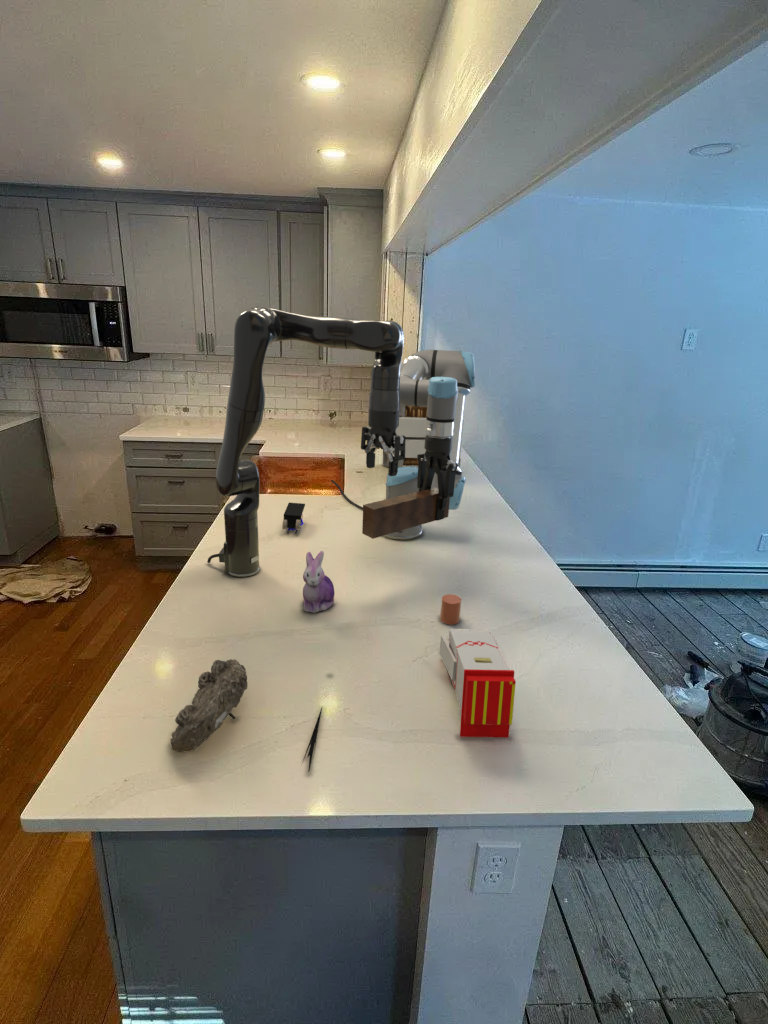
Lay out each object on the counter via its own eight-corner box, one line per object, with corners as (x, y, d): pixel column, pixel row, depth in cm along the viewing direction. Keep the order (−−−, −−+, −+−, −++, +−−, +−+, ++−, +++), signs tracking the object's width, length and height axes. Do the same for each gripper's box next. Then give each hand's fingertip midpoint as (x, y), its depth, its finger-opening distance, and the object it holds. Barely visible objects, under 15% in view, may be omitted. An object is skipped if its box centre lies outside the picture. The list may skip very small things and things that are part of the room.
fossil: (195, 660, 117) (247, 628, 112) (227, 691, 120) (279, 661, 115) (146, 746, 98) (206, 711, 93) (185, 779, 101) (245, 748, 96)
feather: (331, 679, 122) (336, 673, 122) (307, 777, 96) (313, 769, 95) (324, 675, 122) (329, 669, 121) (298, 772, 95) (304, 764, 95)
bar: (372, 538, 145) (373, 509, 142) (362, 533, 148) (362, 504, 145) (448, 517, 162) (450, 490, 159) (437, 512, 165) (439, 486, 162)
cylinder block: (435, 618, 146) (437, 597, 144) (449, 612, 149) (451, 592, 147) (450, 626, 143) (452, 605, 141) (463, 620, 146) (465, 599, 144)
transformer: (381, 463, 289) (385, 382, 275) (444, 464, 292) (450, 384, 279) (389, 482, 257) (393, 392, 243) (459, 483, 261) (467, 394, 247)
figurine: (308, 617, 144) (307, 563, 139) (294, 599, 152) (294, 548, 147) (342, 610, 148) (343, 557, 143) (327, 592, 156) (328, 542, 151)
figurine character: (301, 540, 194) (306, 519, 208) (300, 520, 191) (305, 501, 204) (281, 539, 194) (287, 519, 207) (280, 519, 191) (287, 500, 204)
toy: (489, 613, 130) (525, 677, 101) (485, 667, 133) (518, 744, 104) (437, 612, 130) (457, 676, 101) (434, 666, 133) (453, 743, 103)
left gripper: (354, 404, 140) (352, 467, 146) (392, 413, 130) (388, 480, 136) (377, 401, 145) (374, 463, 150) (415, 410, 135) (411, 476, 140)
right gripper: (406, 431, 157) (402, 510, 165) (453, 444, 145) (446, 529, 153) (426, 428, 162) (420, 505, 170) (472, 440, 149) (464, 523, 157)
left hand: (381, 471), depth 143 cm, fingers open, 8 cm apart
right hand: (432, 516), depth 161 cm, fingers closed on bar, 4 cm apart
